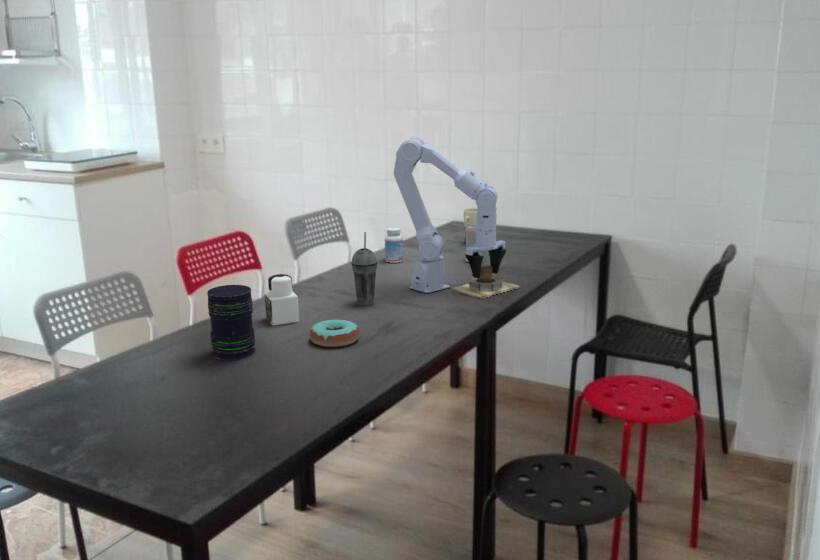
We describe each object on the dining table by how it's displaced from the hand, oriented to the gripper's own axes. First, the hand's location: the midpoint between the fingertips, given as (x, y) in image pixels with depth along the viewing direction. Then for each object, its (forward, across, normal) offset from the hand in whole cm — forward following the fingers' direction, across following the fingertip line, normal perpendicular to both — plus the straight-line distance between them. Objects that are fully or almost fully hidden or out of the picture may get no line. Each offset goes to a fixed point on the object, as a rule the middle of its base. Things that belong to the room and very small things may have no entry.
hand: (485, 275), depth 222 cm
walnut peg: (+3, 0, 0) cm, 4 cm away
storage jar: (+5, -80, +3) cm, 80 cm away
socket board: (+4, 0, 0) cm, 4 cm away
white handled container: (+5, -59, +16) cm, 61 cm away
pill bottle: (+5, +3, +45) cm, 46 cm away
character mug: (+5, +41, +45) cm, 61 cm away
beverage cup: (+5, -34, +13) cm, 37 cm away
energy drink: (+5, +22, +26) cm, 35 cm away
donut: (+5, -58, -6) cm, 58 cm away
